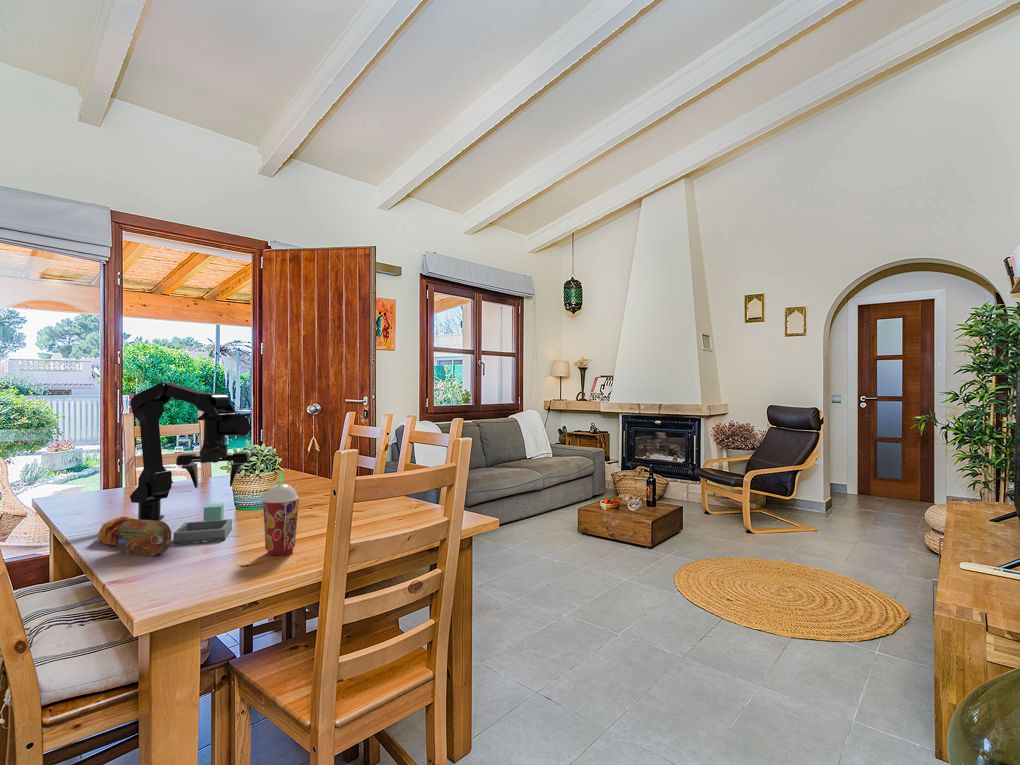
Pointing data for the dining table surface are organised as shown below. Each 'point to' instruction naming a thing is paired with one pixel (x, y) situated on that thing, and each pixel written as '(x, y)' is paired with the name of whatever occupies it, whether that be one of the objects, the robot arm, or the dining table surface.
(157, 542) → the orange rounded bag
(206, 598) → the dining table surface
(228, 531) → the bin
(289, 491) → the smoothie
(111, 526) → the croissant
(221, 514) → the block
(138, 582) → the dining table surface
